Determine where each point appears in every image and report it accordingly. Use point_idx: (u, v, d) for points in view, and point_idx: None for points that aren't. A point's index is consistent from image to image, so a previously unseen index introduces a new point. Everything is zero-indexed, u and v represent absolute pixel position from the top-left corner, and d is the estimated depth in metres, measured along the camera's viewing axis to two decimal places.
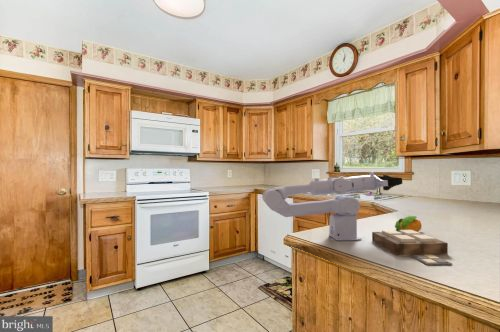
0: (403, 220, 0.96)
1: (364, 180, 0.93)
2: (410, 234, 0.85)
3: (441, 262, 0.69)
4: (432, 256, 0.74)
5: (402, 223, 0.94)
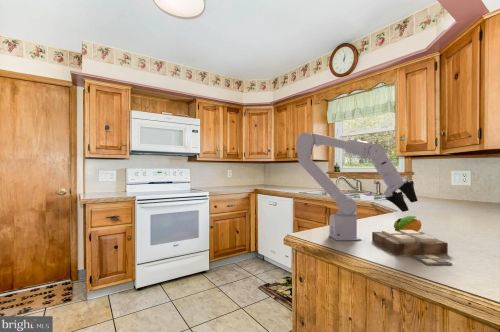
0: (402, 220, 0.96)
1: (388, 175, 0.89)
2: (410, 234, 0.85)
3: (441, 262, 0.69)
4: (432, 256, 0.74)
5: (400, 223, 0.95)
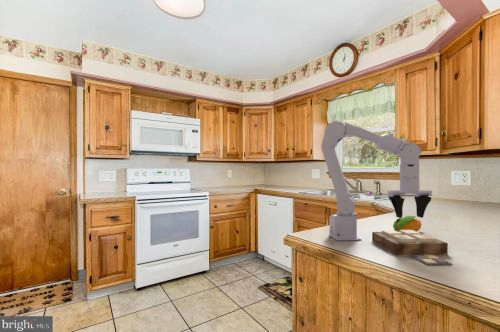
0: (401, 220, 0.96)
1: (404, 179, 0.86)
2: (410, 234, 0.85)
3: (441, 262, 0.69)
4: (432, 256, 0.74)
5: (399, 222, 0.95)
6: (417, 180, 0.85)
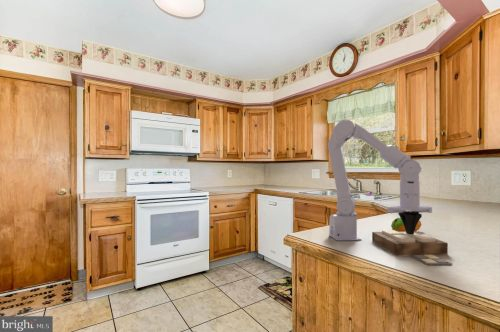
0: (399, 219, 0.97)
1: (404, 195, 0.86)
2: (410, 236, 0.85)
3: (441, 262, 0.69)
4: (432, 256, 0.74)
5: (397, 222, 0.96)
6: (417, 197, 0.85)
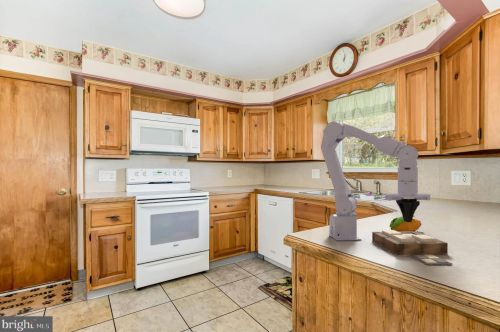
0: (397, 219, 0.98)
1: (402, 182, 0.83)
2: None
3: (441, 262, 0.69)
4: (432, 256, 0.74)
5: (395, 222, 0.97)
6: (415, 184, 0.82)
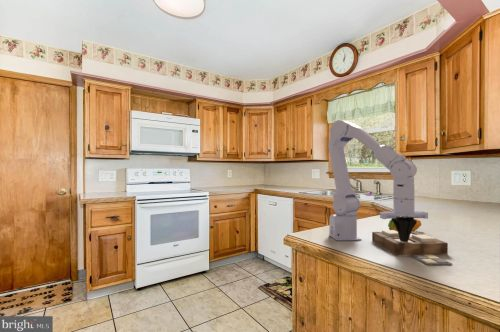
0: None
1: (398, 200, 0.79)
2: None
3: (441, 262, 0.69)
4: (432, 256, 0.74)
5: None
6: (412, 202, 0.78)
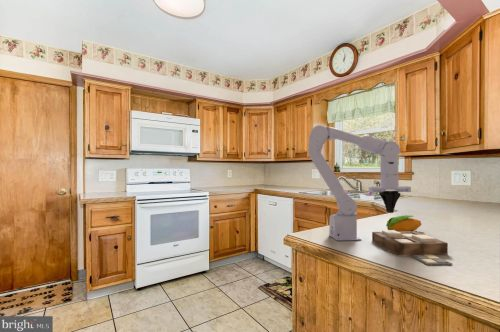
0: (393, 218, 0.99)
1: (384, 175, 0.91)
2: None
3: (441, 262, 0.69)
4: (432, 256, 0.74)
5: (391, 221, 0.98)
6: (396, 177, 0.89)
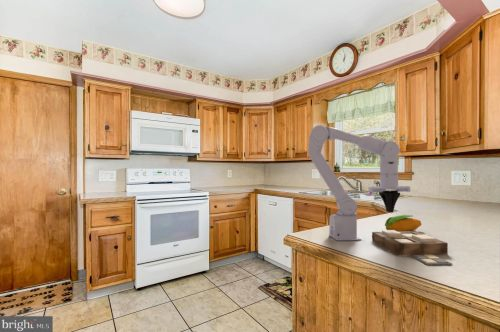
0: (392, 218, 1.00)
1: (384, 175, 0.91)
2: None
3: (441, 262, 0.69)
4: (432, 256, 0.74)
5: (389, 220, 0.99)
6: (396, 176, 0.90)
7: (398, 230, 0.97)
